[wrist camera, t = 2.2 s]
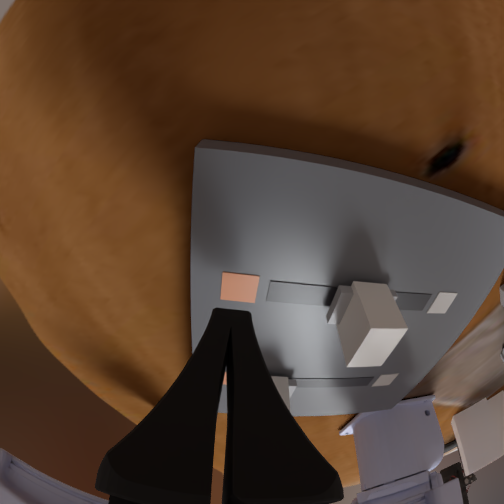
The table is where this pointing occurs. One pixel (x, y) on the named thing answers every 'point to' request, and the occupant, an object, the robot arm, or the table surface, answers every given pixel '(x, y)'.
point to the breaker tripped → (366, 322)
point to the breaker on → (285, 388)
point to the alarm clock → (503, 300)
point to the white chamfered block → (480, 433)
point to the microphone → (457, 473)
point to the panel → (335, 265)
